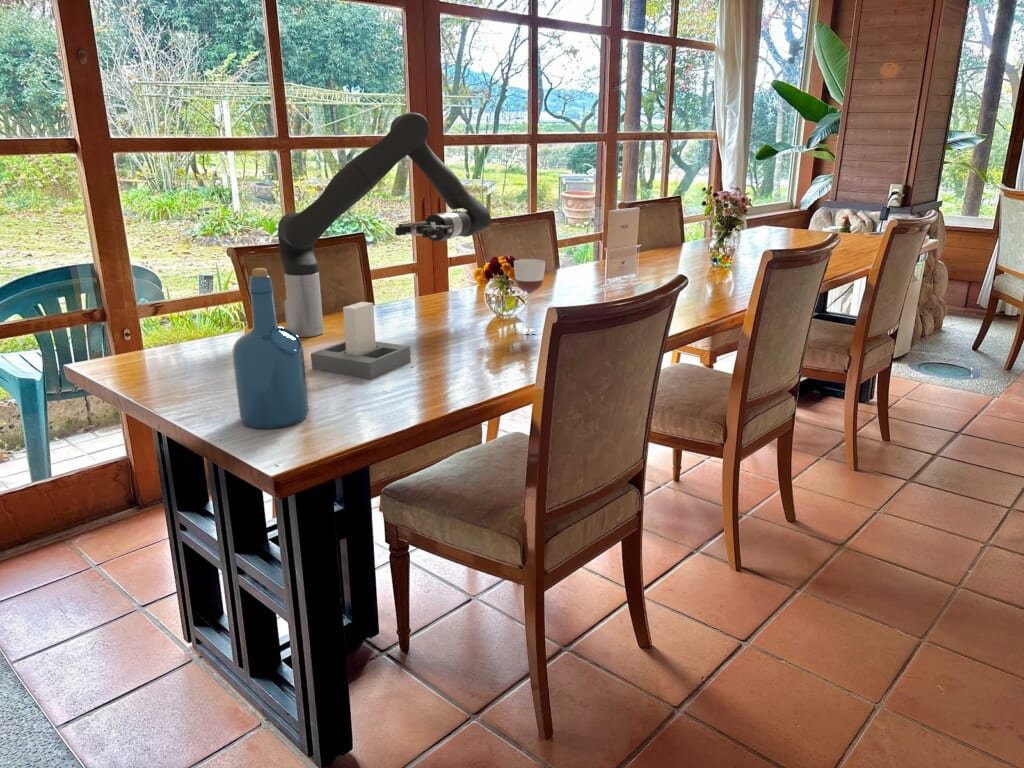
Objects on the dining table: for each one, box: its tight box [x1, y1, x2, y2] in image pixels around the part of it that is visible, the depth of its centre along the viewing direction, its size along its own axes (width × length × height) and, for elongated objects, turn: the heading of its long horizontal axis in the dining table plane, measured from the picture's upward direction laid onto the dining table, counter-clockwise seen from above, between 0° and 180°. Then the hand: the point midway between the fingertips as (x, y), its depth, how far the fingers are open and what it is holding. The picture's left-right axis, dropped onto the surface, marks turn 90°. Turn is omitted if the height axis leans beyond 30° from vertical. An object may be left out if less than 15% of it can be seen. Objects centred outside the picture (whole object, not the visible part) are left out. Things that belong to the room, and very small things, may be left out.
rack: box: [310, 340, 412, 381], centre depth 188 cm, size 17×16×4 cm
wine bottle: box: [231, 267, 310, 430], centre depth 150 cm, size 14×13×30 cm
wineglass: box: [513, 258, 546, 332], centre depth 217 cm, size 8×9×20 cm
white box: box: [342, 301, 376, 356], centre depth 186 cm, size 3×7×14 cm, turn 152°
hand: (409, 232), depth 204 cm, fingers open, 8 cm apart
